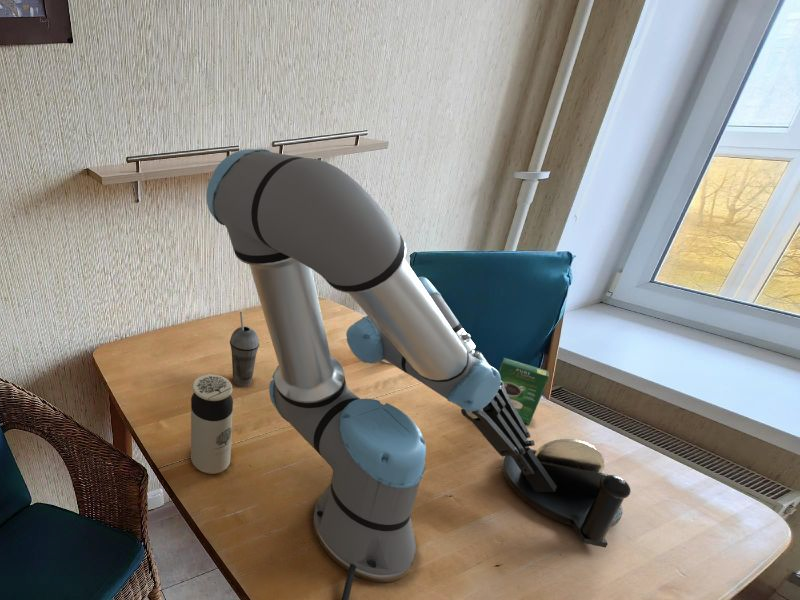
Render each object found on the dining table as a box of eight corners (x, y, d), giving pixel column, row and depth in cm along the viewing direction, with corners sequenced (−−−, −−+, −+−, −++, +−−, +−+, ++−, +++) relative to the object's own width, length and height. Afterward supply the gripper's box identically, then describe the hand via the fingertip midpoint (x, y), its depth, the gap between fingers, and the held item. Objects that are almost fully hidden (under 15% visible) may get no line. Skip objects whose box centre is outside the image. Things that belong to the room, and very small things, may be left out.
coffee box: (531, 419, 95) (549, 369, 90) (531, 426, 93) (549, 376, 88) (487, 403, 100) (502, 356, 95) (485, 410, 98) (501, 361, 93)
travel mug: (184, 451, 89) (184, 379, 82) (217, 439, 91) (219, 369, 85) (202, 480, 82) (203, 404, 75) (237, 466, 85) (242, 392, 78)
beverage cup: (256, 391, 106) (261, 321, 99) (227, 388, 107) (230, 318, 100) (256, 374, 112) (261, 306, 105) (228, 371, 114) (231, 304, 107)
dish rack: (661, 563, 64) (698, 501, 60) (533, 533, 69) (558, 474, 65) (587, 463, 82) (610, 409, 77) (488, 445, 87) (505, 393, 82)
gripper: (461, 365, 70) (562, 511, 63) (490, 339, 77) (582, 467, 71) (421, 377, 76) (508, 511, 69) (451, 351, 83) (533, 471, 77)
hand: (546, 489), depth 70 cm, fingers closed
